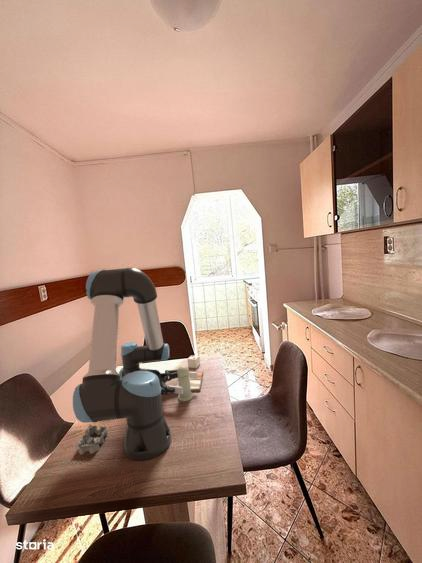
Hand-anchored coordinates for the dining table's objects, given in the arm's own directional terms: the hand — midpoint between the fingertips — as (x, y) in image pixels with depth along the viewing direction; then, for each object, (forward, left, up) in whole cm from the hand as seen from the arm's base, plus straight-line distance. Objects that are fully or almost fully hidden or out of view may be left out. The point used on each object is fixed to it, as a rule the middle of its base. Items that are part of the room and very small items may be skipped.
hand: (190, 382), depth 112 cm
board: (+8, +12, -7) cm, 16 cm away
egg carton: (-39, +4, -7) cm, 40 cm away
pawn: (-1, +3, -7) cm, 8 cm away
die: (+22, +26, -7) cm, 35 cm away
